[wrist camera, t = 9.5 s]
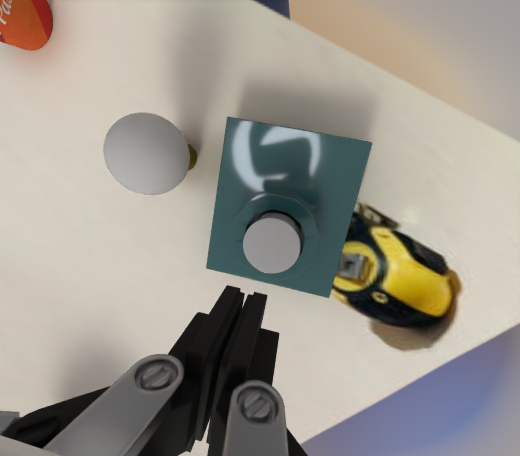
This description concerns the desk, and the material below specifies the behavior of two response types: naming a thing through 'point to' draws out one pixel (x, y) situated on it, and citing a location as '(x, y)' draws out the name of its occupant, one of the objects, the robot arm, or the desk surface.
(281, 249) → the grey push button
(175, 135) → the light bulb
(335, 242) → the teal button base
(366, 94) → the desk surface
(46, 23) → the paper cup
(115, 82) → the desk surface
